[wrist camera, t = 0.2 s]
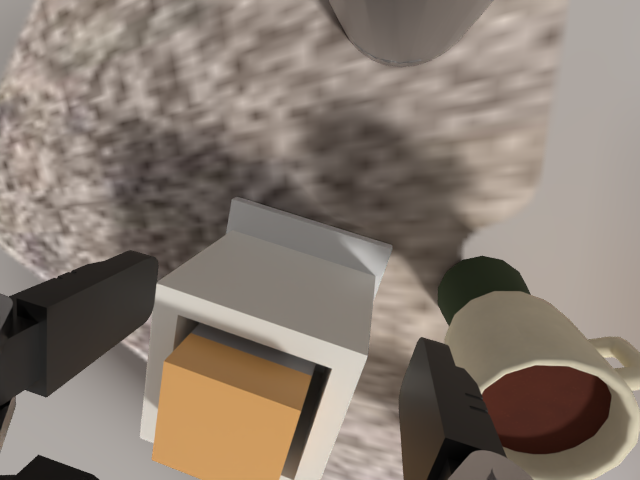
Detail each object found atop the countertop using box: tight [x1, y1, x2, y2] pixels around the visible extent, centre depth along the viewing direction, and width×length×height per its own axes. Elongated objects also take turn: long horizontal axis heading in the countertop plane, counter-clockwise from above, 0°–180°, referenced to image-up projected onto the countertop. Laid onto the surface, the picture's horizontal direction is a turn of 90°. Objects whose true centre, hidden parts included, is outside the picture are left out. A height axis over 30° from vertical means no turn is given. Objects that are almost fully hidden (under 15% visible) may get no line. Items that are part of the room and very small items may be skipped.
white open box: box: [140, 197, 392, 480], centre depth 26 cm, size 17×13×11 cm
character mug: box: [438, 256, 640, 480], centre depth 21 cm, size 11×7×13 cm, turn 108°
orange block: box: [152, 323, 316, 480], centre depth 22 cm, size 7×7×8 cm
